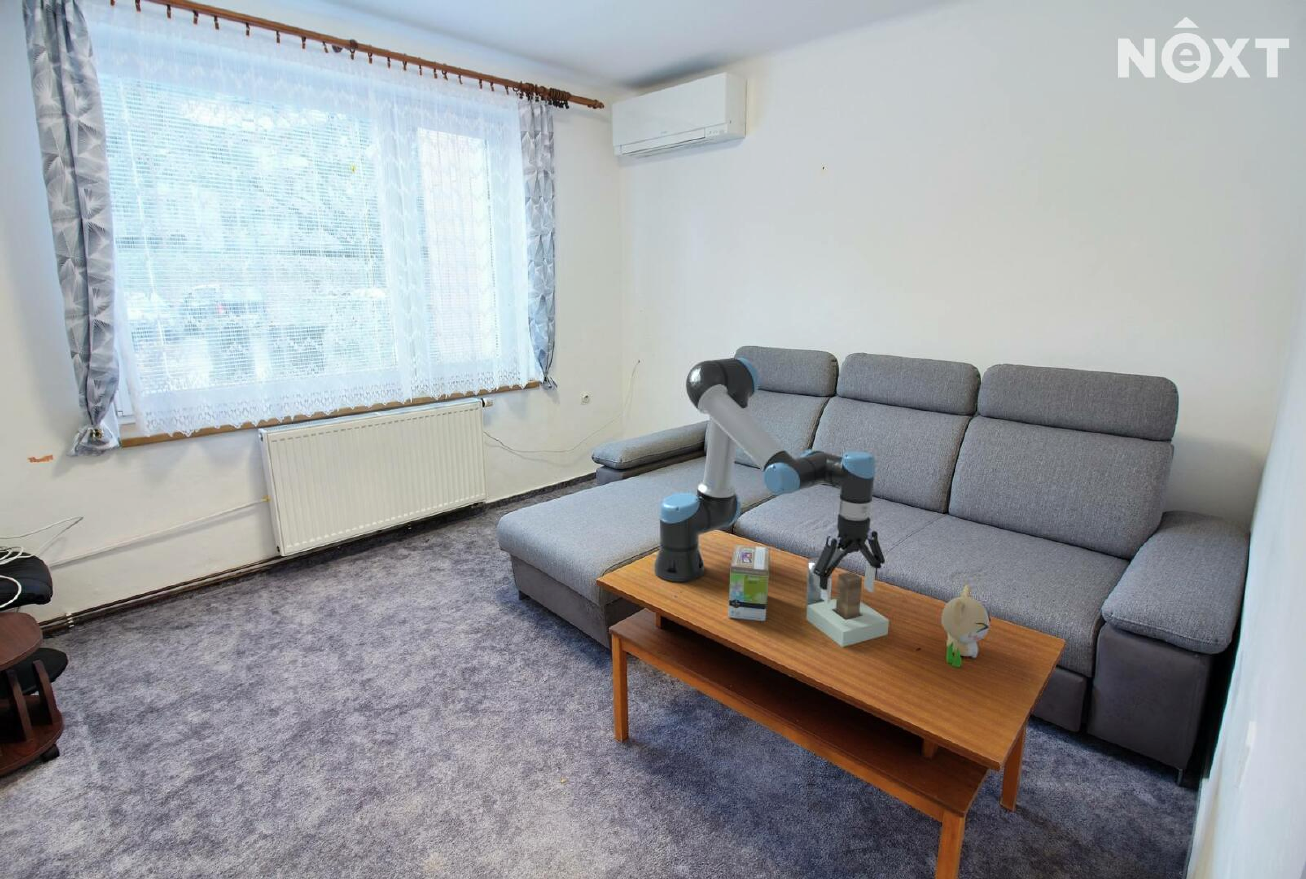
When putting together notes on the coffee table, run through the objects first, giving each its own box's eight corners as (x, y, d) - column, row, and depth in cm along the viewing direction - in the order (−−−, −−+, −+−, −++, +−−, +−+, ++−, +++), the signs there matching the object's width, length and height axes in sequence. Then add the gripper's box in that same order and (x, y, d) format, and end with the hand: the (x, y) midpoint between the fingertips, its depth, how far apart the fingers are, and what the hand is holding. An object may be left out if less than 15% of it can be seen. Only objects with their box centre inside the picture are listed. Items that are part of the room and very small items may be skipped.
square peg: (834, 624, 157) (838, 574, 154) (847, 621, 159) (851, 571, 155) (845, 632, 153) (849, 581, 150) (858, 629, 155) (862, 578, 152)
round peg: (801, 600, 170) (803, 559, 167) (819, 596, 172) (821, 556, 169) (814, 609, 164) (816, 568, 162) (832, 605, 167) (834, 564, 164)
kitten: (978, 675, 136) (986, 614, 132) (930, 660, 142) (937, 601, 138) (990, 645, 148) (998, 588, 144) (945, 632, 153) (951, 576, 150)
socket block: (806, 619, 160) (807, 605, 159) (849, 608, 165) (850, 594, 164) (842, 647, 147) (843, 632, 146) (887, 634, 152) (888, 619, 152)
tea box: (766, 622, 159) (769, 569, 155) (727, 618, 160) (729, 566, 157) (768, 594, 173) (770, 545, 169) (732, 591, 175) (733, 543, 171)
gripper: (822, 528, 141) (815, 611, 146) (905, 513, 151) (896, 592, 156) (802, 517, 148) (797, 597, 153) (883, 503, 157) (875, 579, 162)
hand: (847, 595), depth 154 cm, fingers open, 13 cm apart
